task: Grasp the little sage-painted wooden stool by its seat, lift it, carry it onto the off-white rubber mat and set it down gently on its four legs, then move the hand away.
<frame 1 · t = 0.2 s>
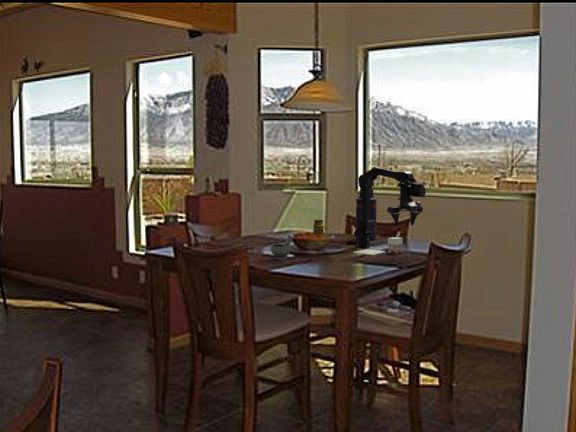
hand: (404, 226, 359), 14 cm above the table, fingers open, 9 cm apart
mortar and pestle: (282, 259, 341), on the table
mat: (369, 252, 361), on the table
dark blue bottle: (365, 239, 408), on the table
stool: (395, 252, 361), on the table
condiment: (317, 240, 405), on the table
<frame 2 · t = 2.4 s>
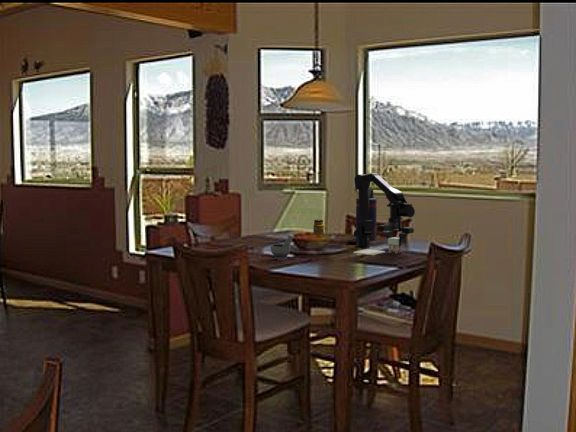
hand: (395, 245, 361), 4 cm above the table, fingers closed on stool, 5 cm apart
stool: (395, 252, 361), on the table, touching gripper
everything else where it was.
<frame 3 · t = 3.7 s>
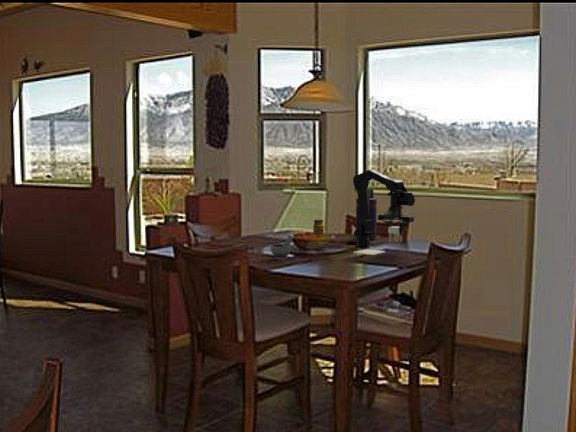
hand: (395, 234, 360), 9 cm above the table, fingers closed on stool, 5 cm apart
stool: (395, 241, 360), point 6 cm above the table, touching gripper
everything else where it was.
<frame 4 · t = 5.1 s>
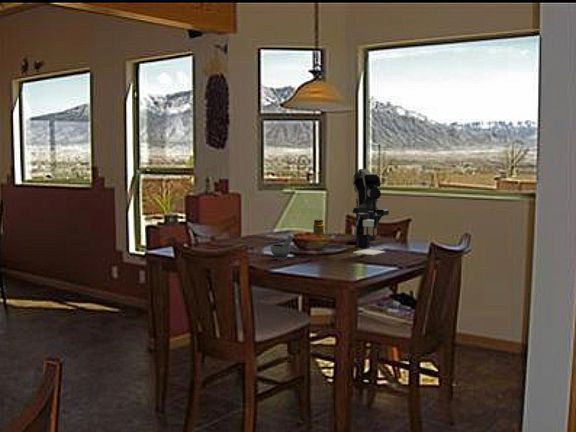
hand: (370, 227, 359), 13 cm above the table, fingers closed on stool, 5 cm apart
stool: (370, 234, 359), point 9 cm above the table, touching gripper
everything else where it was.
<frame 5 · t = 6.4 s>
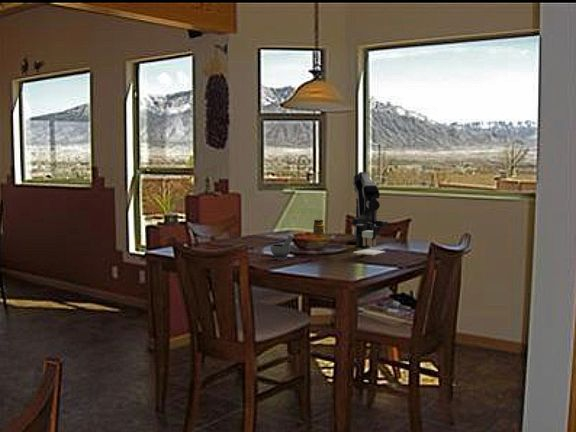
hand: (369, 238, 360), 7 cm above the table, fingers closed on stool, 5 cm apart
stool: (369, 245, 360), point 4 cm above the table, touching gripper
everything else where it was.
when the fingers open (5 cm above the table, at t = 7.7 s): stool drops 1 cm, resting on mat.
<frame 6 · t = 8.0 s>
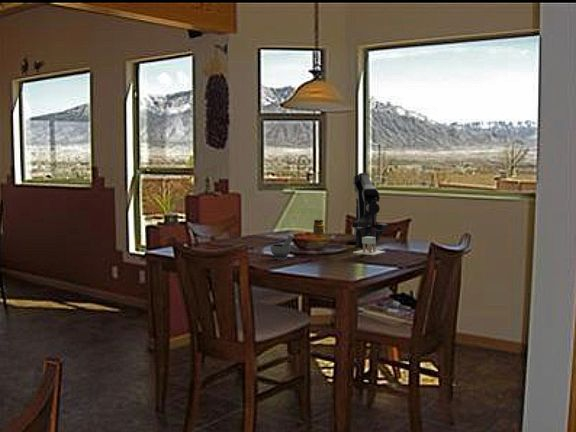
hand: (369, 242, 360), 5 cm above the table, fingers open, 9 cm apart
stool: (369, 251, 361), resting on mat
everything else where it was.
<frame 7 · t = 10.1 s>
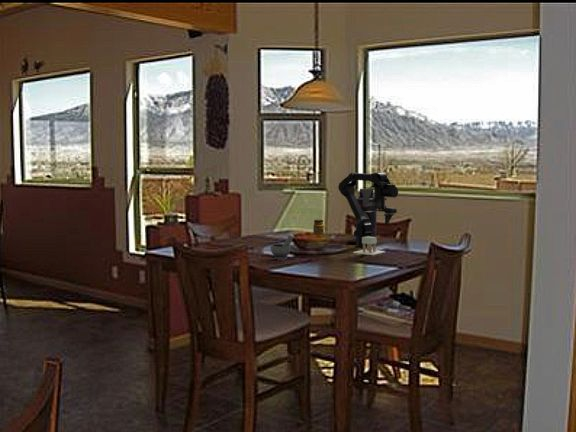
hand: (379, 225, 369), 13 cm above the table, fingers open, 9 cm apart
nothing on the table moved.
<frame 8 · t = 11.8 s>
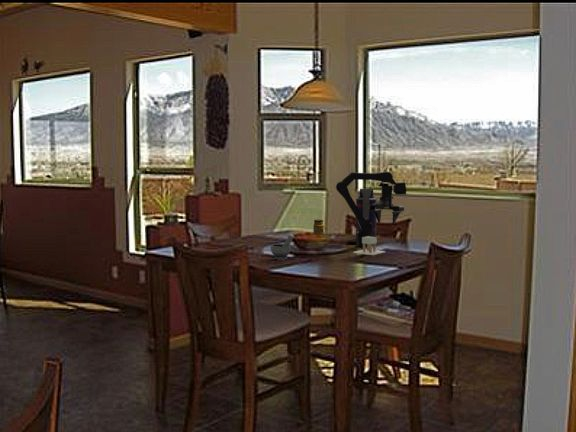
hand: (386, 223, 377), 13 cm above the table, fingers open, 9 cm apart
nothing on the table moved.
at the end: stool inside the target area on the mat (0.1 cm from its centre), point 0.5 cm above the mat's base; stool tilted 0°; the gripper is holding nothing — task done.
